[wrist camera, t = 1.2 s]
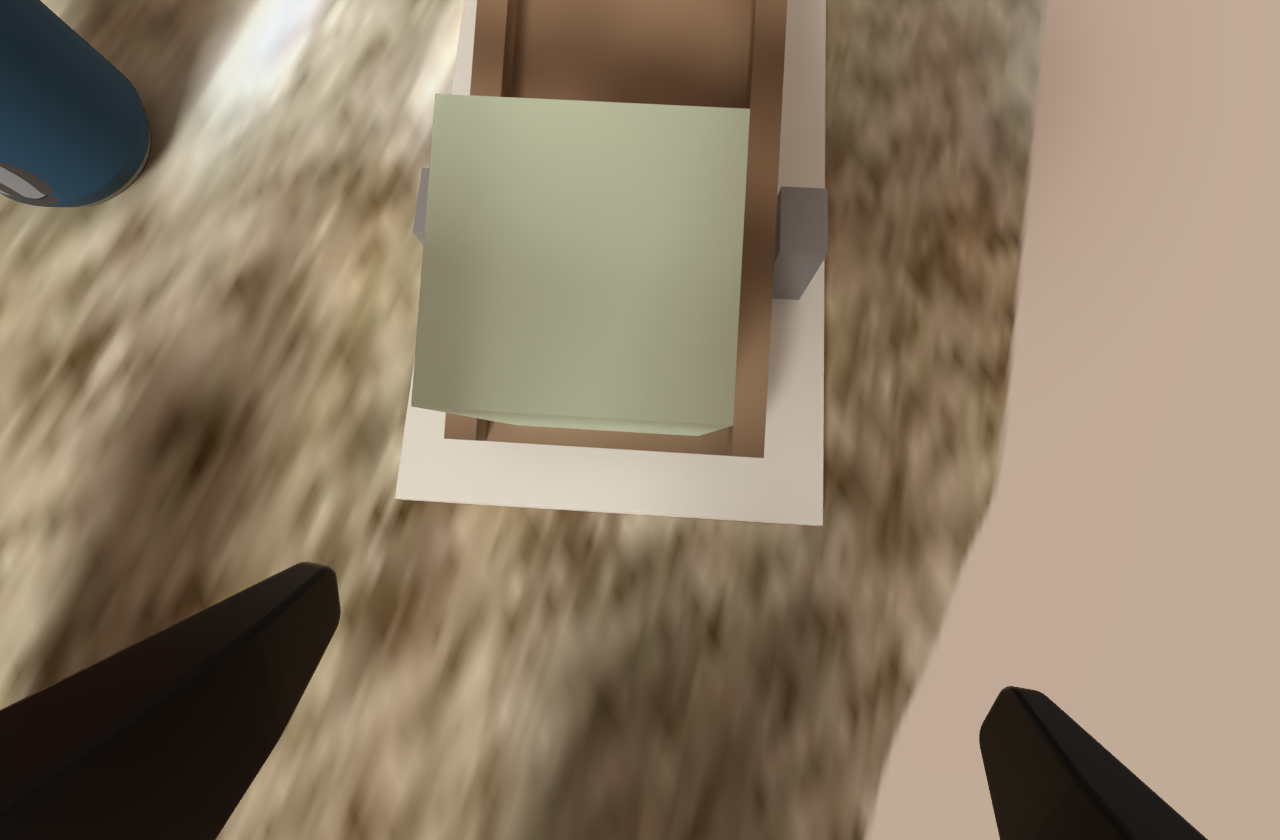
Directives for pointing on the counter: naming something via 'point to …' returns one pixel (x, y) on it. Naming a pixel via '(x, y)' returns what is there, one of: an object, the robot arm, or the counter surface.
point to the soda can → (63, 114)
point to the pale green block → (582, 264)
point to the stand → (795, 374)
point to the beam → (667, 75)
